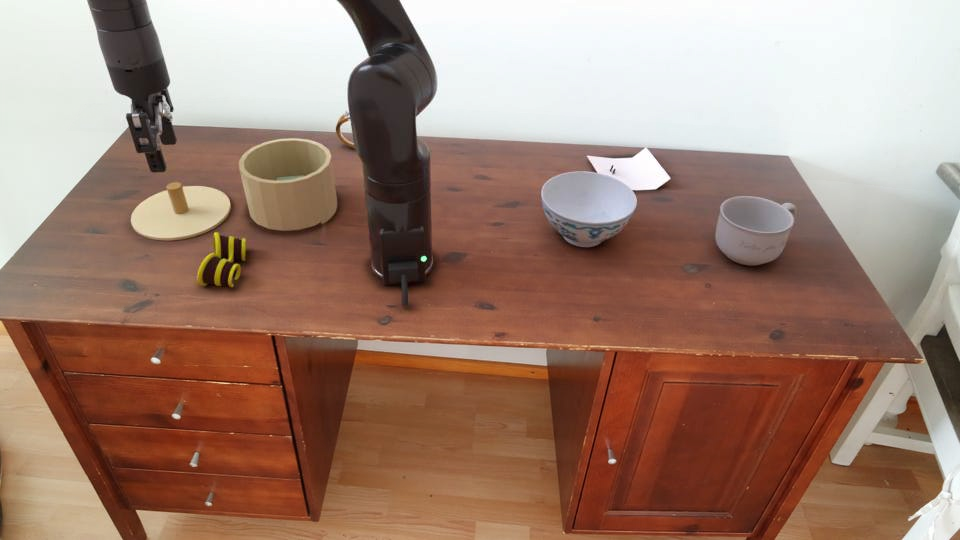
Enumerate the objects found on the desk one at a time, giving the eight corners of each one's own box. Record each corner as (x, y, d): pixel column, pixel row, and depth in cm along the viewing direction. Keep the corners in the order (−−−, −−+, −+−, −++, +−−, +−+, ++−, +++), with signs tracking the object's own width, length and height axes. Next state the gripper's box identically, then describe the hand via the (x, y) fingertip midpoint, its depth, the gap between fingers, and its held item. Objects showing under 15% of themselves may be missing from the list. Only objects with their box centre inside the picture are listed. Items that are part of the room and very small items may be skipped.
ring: (375, 145, 130) (372, 108, 125) (371, 153, 127) (368, 115, 122) (341, 142, 130) (337, 105, 125) (336, 150, 128) (332, 112, 123)
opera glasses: (235, 296, 95) (235, 270, 92) (197, 292, 94) (196, 265, 91) (249, 255, 103) (250, 230, 100) (214, 251, 102) (213, 225, 99)
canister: (337, 229, 107) (331, 179, 101) (245, 236, 105) (233, 185, 99) (337, 183, 118) (331, 136, 112) (253, 188, 116) (243, 140, 110)
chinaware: (646, 252, 105) (655, 212, 100) (562, 271, 101) (568, 231, 96) (599, 203, 116) (606, 165, 111) (522, 219, 111) (525, 180, 106)
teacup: (732, 279, 100) (747, 236, 95) (696, 238, 109) (708, 197, 103) (809, 266, 104) (827, 224, 99) (768, 227, 112) (783, 187, 107)
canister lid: (225, 239, 104) (217, 208, 101) (122, 247, 102) (110, 215, 98) (236, 188, 116) (229, 159, 112) (144, 194, 114) (133, 164, 110)
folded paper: (585, 160, 128) (587, 151, 126) (644, 156, 130) (646, 147, 128) (606, 193, 118) (608, 184, 117) (669, 188, 121) (671, 179, 119)
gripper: (117, 37, 97) (148, 136, 107) (90, 76, 86) (128, 182, 96) (171, 36, 98) (197, 134, 108) (151, 74, 87) (181, 179, 97)
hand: (164, 157), depth 102 cm, fingers open, 8 cm apart
